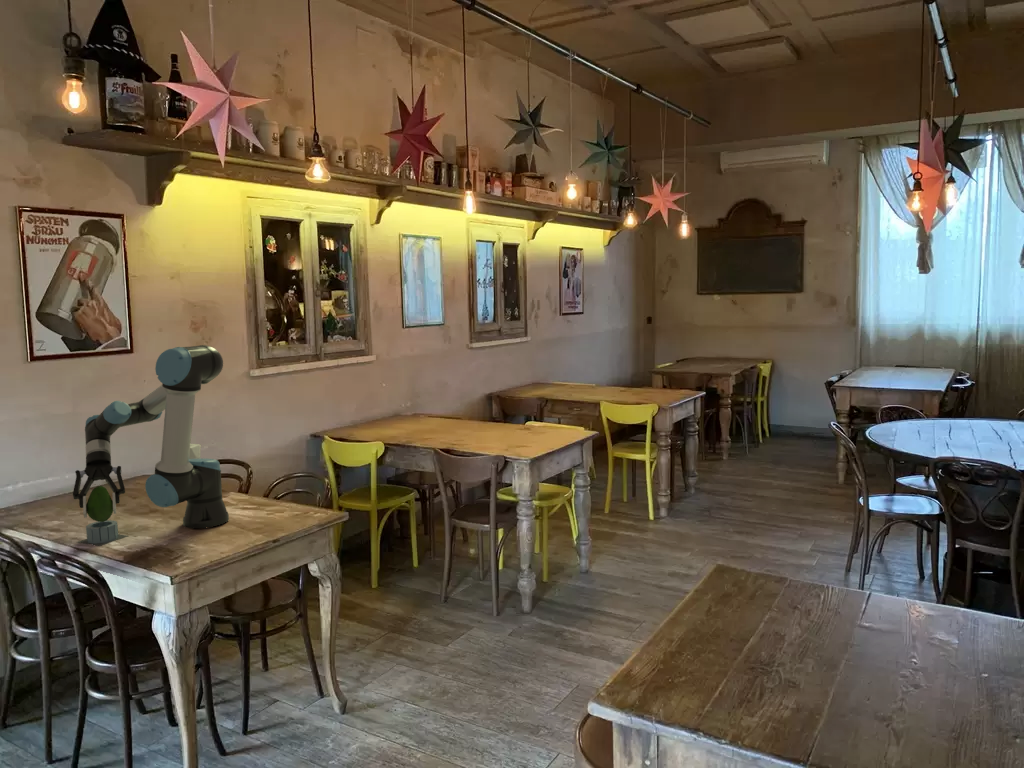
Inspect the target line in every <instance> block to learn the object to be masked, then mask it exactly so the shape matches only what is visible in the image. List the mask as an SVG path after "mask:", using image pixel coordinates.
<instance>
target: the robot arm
mask: <svg viewBox="0 0 1024 768" xmlns="http://www.w3.org/2000/svg"><path fill="white" fill-rule="evenodd" d="M223 368H224V360H223V356H222V355H221V353H220V352H219V351H218V350H217V349H216V348H215V347H212V346H210V345H206V344H205V345H203V344H201V345H193V346H192V345H191V346H175V347H173V348H168V349H166V350H164V351H163V352H161V353H160V354H159V356H158V357H157V360H156V362H155V368H154V370H155V375H156V376H157V379H158V381H159V382H160V383H161V385H160V386H159V387H157V388H155V390H153V391H152V392H151V393H149V394H148V395H146V396H145V397H144V398H142V399H141V400H139V401H137V402H132V403H126V402H125V401H120V400H114V401H113V402H111V403H110V404H108V405H107V406H106V407H105V408H104V409H103V410H102V412H101V413H100V414H95V415H92V416H90V417H89V416H88V418H87V419H86V420H85V427H84V433H85V435H84V436H85V437H84V438H85V468H84V470H78V469H77V470H75V481H74V485H73V486H74V487H73V491H72V497H73V500H79V501H78V503H79V507H80V509H82V511H83V512H82V514H83V517H84V518H87V517H88V513H87V509H86V505H87V502H88V499H87V494H88V492H89V490H90V489H91V486H92V485H93V484H94V482H95V481H96V482H97V481H103V480H105V482H106V483H107V484H108V486H109V487H110V489H111V491H112V495H111V496H112V501H113V514H114V515H115V514H117V504H120V496H121V495H122V494H125V493H126V487H125V485H124V480H123V477H122V472H123V471H122V466H120V465H118V466H117V467H116V466H115V467H114V466H113V465H112V456H111V453H112V452H111V436H112V435H113V434H115V432H116V431H118V429H120V428H121V427H127V426H132V425H137V424H143V423H147V422H153V421H156V420H158V419H159V418H161V416H162V414H163V411H164V418H163V419H164V420H163V429H162V431H163V432H162V433H163V434H162V442H161V453H160V454H161V455H160V460H159V461H158V462H157V463H155V465H154V466H155V467H154V473H153V474H151V475H149V477H148V478H146V481H145V487H144V488H145V492H146V494H147V497H148V498H149V500H150V501H151V502H152V503H153V504H154V505H155V506H157V507H160V508H168V507H175V506H177V505H178V504H180V503H185V502H186V507H185V512H184V516H183V518H182V525H183V527H184V528H188V529H194V528H204V529H207V528H206V527H211V528H213V527H212V526H216V525H219V526H221V525H220V524H222V525H224V524H223V523H225V522H227V521H228V520H229V521H230V517H229V511H228V510H227V508H226V505H225V503H224V500H223V491H222V490H223V489H222V488H223V486H222V470H221V464H220V462H219V460H218V459H214V458H201V459H189V454H190V444H192V443H191V442H192V431H193V421H194V412H195V411H194V410H195V401H196V394H197V393H198V392H200V391H201V389H202V385H207V384H208V383H210V382H211V381H213V380H214V379H216V378H217V377H218V376H219V375H220V374H221V372H222V370H223ZM112 472H114V474H115V475H116V479H117V481H118V486H119V488H118V486H117V485H116V484H115V483H114V481H113V479H112V478H111V476H110V475H111V474H112ZM84 475H86V476H87V477H86V478H87V479H86V481H85V483H84V485H83V487H82V488H81V484H82V479H83V478H84ZM80 489H81V491H80ZM79 492H80V493H79ZM229 521H228V522H229ZM228 522H227V523H228ZM225 524H226V523H225ZM216 527H217V526H216Z"/></svg>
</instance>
